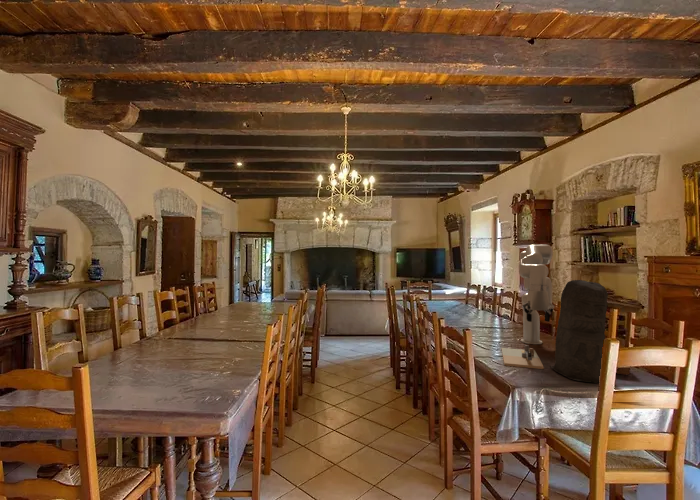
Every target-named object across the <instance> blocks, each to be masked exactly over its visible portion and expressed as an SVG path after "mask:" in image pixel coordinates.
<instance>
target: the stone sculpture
mask: <svg viewBox="0 0 700 500" xmlns="http://www.w3.org/2000/svg"><path fill="white" fill-rule="evenodd" d="M608 298H609V293H608V291H607V289H606V287H605V286H604V285H602V284H601V283H599V282H593V281H586V280H584V279H583V280H582V279H574V280H573V279H572V280H570V281H568V282H566V284H565V286H564V287H563V289H562V292H561V297H560V308H559V309H560V310H559V314H558V315H559V317H558V320H557V328H556V336H555V344H554V345H555V351H554V352H555V353H554V354H555V355H554V356H555V358H554V365H549V367H550V368H551V369H552V370H554V371H555V372H557V373H558V374H560V375H561V376H564V377H566V378H568V379H570V380H573V381H577V382H584V383H585V382H586V383H592V384H595V383H597V384H599V383H600V382H599V376H600V369H601V358H602V347H603V340H604V339H605V340H606V335H605V332H606V319H607V310H608Z"/></svg>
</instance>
